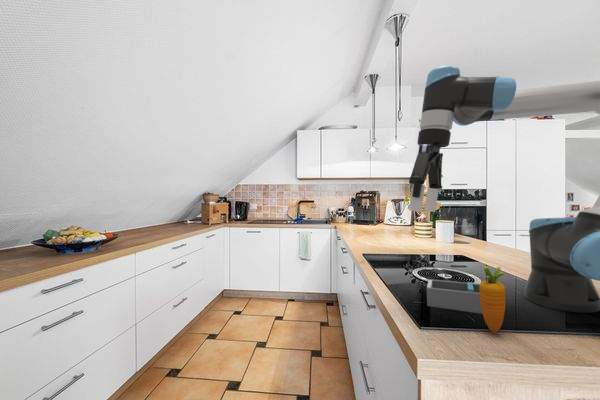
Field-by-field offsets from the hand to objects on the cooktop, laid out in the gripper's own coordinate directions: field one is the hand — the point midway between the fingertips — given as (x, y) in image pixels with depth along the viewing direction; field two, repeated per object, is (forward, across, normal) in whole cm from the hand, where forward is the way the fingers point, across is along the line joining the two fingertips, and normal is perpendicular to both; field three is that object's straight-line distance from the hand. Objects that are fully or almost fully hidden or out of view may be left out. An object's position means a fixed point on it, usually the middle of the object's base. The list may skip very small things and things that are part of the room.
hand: (422, 211), depth 71 cm
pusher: (+23, -12, +12) cm, 29 cm away
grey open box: (+25, -12, +11) cm, 29 cm away
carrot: (+24, +2, +19) cm, 31 cm away
